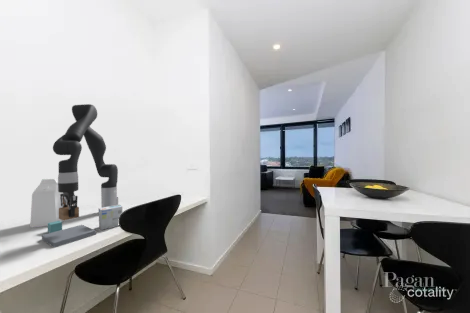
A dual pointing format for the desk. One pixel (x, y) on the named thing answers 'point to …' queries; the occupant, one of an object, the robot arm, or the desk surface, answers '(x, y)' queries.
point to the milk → (45, 203)
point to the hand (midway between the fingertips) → (68, 215)
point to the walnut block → (67, 213)
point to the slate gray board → (68, 235)
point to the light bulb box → (109, 216)
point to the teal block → (54, 226)
